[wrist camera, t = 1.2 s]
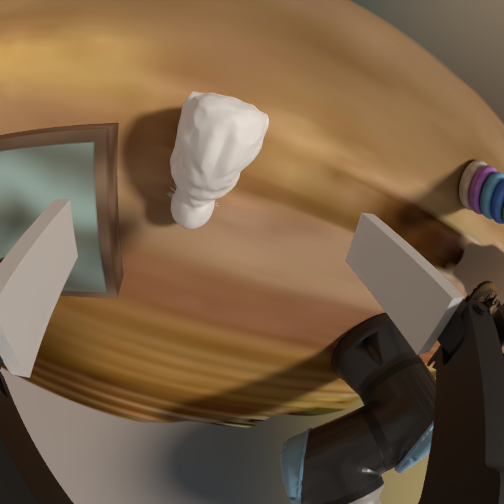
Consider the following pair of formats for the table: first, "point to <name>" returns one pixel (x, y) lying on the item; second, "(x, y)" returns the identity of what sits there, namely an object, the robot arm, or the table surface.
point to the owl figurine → (486, 296)
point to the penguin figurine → (211, 152)
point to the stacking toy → (483, 190)
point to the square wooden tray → (66, 197)
